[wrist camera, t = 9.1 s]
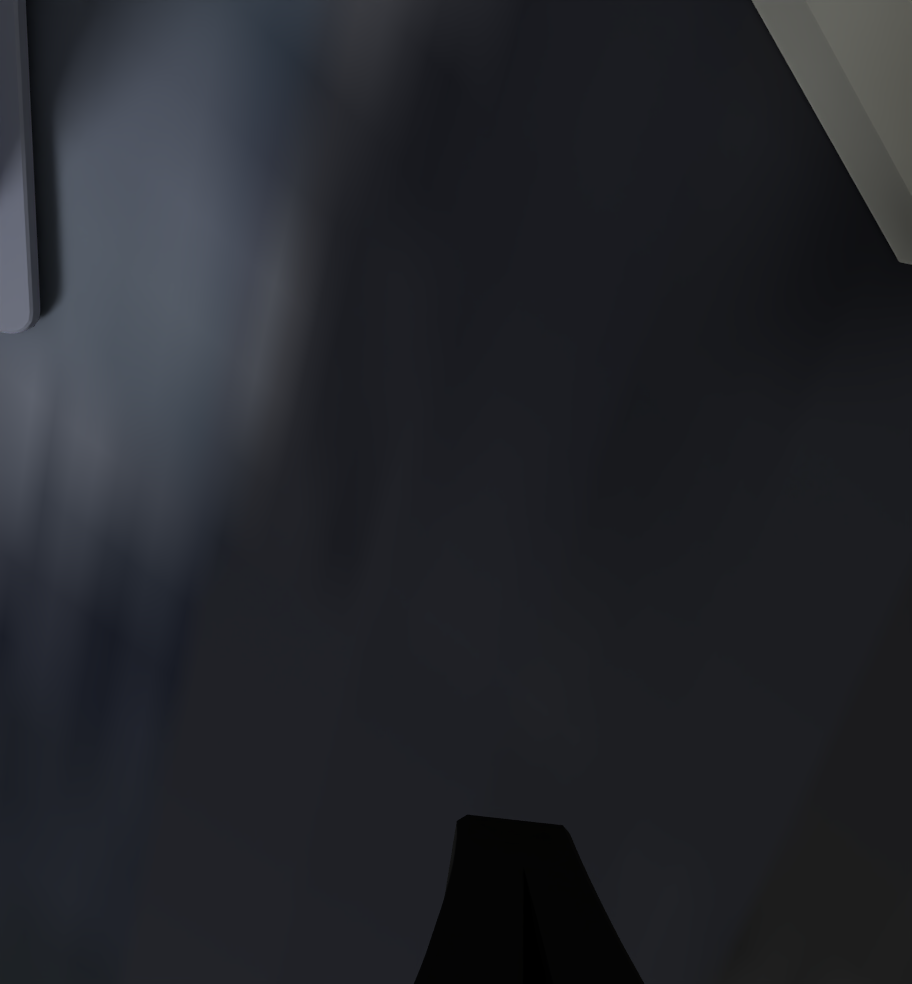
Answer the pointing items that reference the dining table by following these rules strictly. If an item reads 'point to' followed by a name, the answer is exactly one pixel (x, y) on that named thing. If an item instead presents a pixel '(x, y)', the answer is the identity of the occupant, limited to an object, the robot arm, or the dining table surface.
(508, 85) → the dining table surface
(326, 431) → the dining table surface
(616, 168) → the dining table surface
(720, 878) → the dining table surface
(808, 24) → the mount board
